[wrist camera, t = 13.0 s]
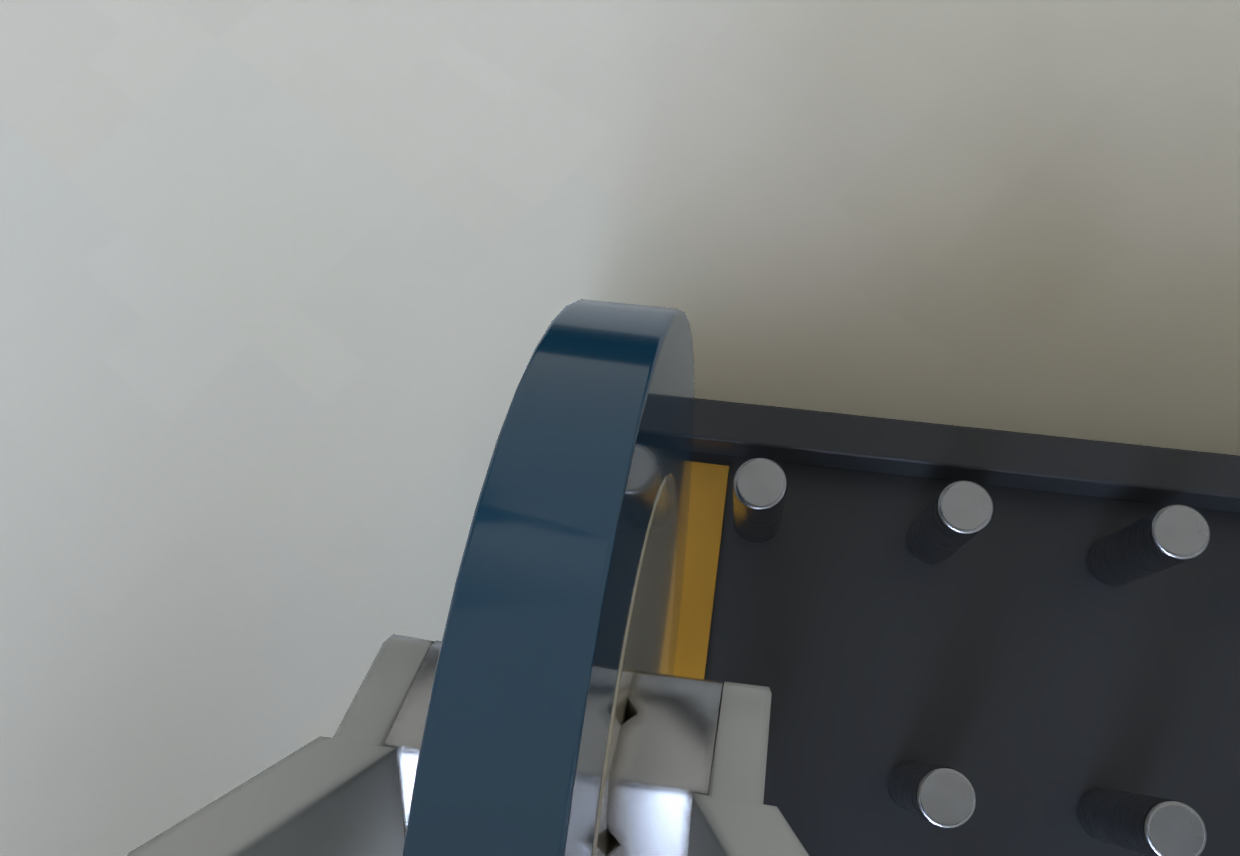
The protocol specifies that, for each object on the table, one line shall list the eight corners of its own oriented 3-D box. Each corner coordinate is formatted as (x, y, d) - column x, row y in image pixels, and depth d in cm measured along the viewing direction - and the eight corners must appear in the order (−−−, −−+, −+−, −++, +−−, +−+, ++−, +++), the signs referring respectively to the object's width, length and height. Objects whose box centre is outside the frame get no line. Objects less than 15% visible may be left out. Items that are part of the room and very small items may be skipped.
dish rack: (1552, 1297, 18) (1804, 1475, 14) (460, 1087, 21) (387, 1182, 16) (1511, 515, 21) (1706, 462, 17) (565, 412, 24) (527, 343, 20)
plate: (619, 1121, 17) (442, 1724, 7) (540, 1106, 18) (250, 1672, 7) (704, 439, 20) (671, 120, 10) (636, 431, 20) (529, 108, 10)
